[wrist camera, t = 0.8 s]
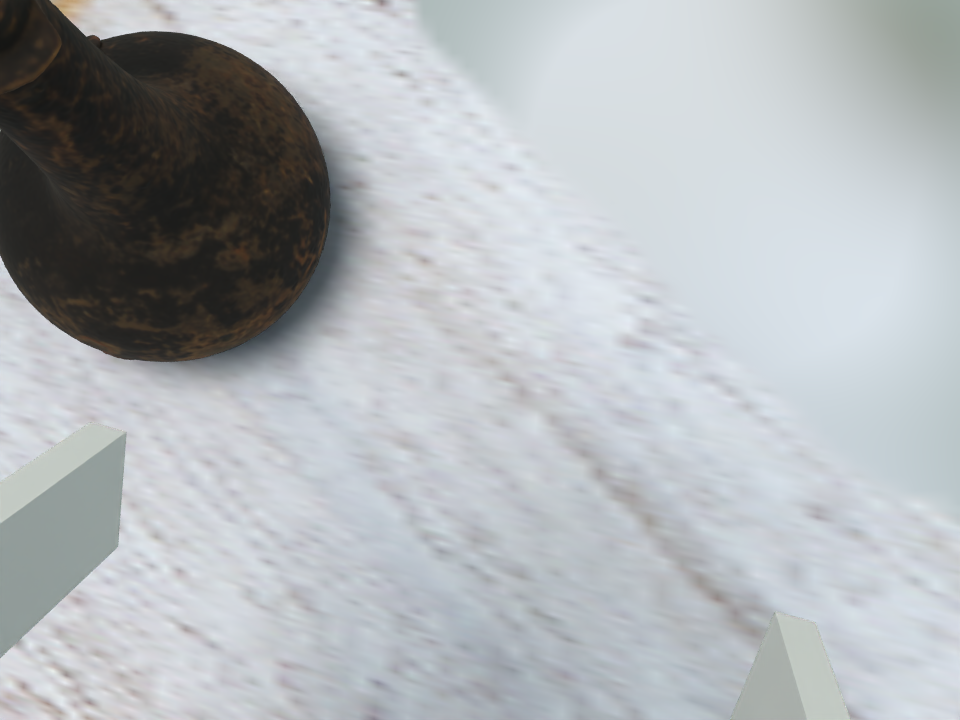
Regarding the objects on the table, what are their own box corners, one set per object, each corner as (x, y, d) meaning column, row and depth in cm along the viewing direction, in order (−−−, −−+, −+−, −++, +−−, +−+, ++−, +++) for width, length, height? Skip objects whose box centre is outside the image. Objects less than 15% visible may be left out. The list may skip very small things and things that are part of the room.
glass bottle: (246, 48, 54) (40, -403, 26) (399, 272, 52) (351, 40, 25) (1, 194, 52) (-501, -130, 24) (152, 431, 50) (-201, 374, 23)
